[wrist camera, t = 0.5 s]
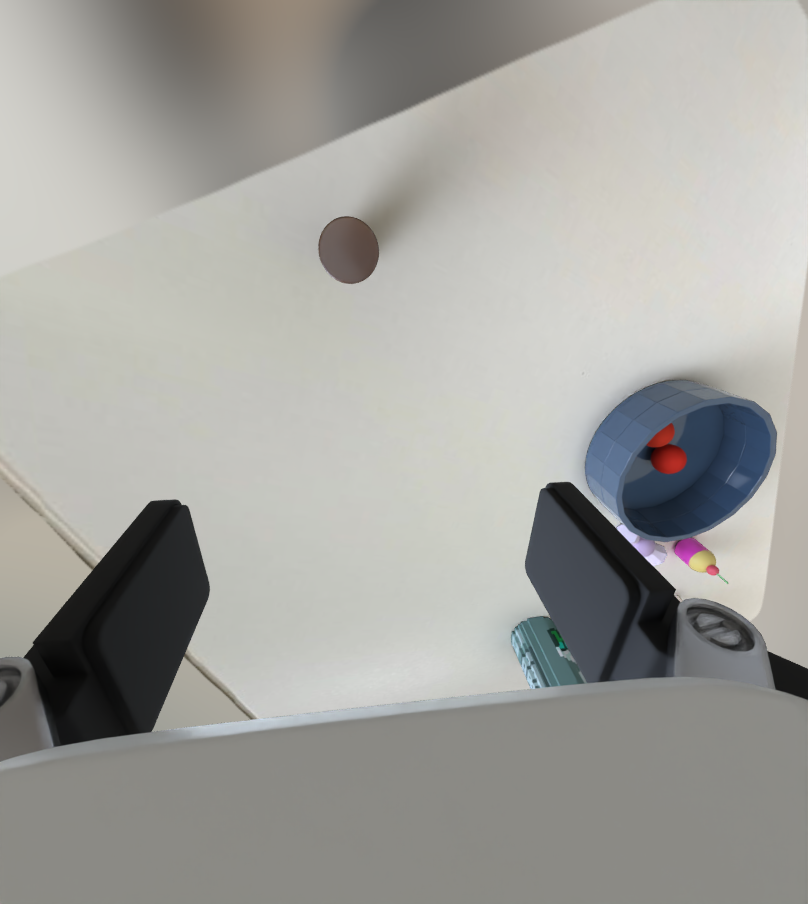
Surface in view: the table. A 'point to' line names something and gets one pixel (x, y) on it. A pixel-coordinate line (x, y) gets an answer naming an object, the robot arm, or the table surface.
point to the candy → (685, 550)
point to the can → (544, 654)
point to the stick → (348, 250)
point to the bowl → (707, 450)
